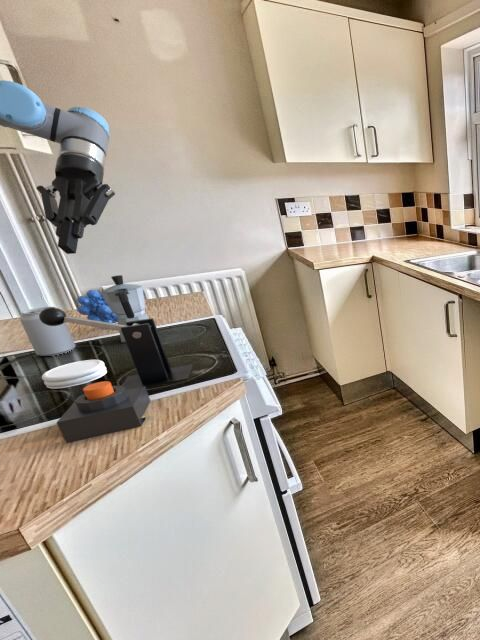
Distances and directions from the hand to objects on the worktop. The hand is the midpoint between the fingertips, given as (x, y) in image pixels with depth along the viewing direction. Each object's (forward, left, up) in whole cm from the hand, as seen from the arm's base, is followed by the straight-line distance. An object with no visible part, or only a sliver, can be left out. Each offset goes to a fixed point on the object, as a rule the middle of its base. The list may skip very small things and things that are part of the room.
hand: (66, 249), depth 87 cm
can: (-18, +27, -29) cm, 43 cm away
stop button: (+6, -28, -23) cm, 37 cm away
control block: (+6, -28, -29) cm, 41 cm away
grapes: (-12, +47, -29) cm, 56 cm away
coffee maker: (-1, +29, -29) cm, 40 cm away
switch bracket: (+10, -11, -29) cm, 32 cm away
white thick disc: (-6, -1, -29) cm, 29 cm away
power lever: (+3, -11, -16) cm, 19 cm away
